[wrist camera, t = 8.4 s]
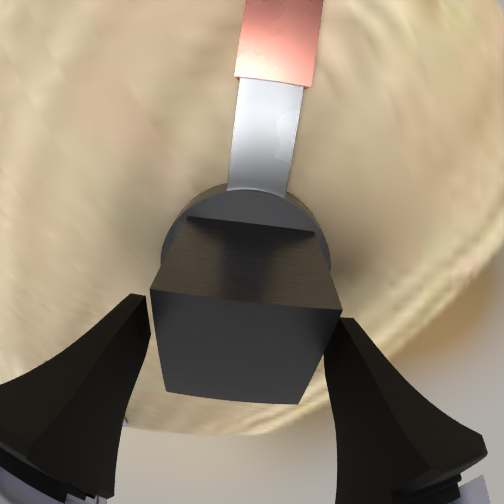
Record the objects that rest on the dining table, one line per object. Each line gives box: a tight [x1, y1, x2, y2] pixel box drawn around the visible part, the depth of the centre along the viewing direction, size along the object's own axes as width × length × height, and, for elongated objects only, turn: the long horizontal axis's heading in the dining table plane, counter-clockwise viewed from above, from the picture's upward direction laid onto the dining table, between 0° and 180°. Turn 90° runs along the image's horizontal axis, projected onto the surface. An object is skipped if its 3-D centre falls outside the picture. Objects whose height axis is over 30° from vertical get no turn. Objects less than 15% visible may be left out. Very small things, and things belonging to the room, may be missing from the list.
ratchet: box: [161, 0, 331, 272], centre depth 10 cm, size 20×8×4 cm, turn 173°
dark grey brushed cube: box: [150, 216, 343, 404], centre depth 11 cm, size 5×5×5 cm
